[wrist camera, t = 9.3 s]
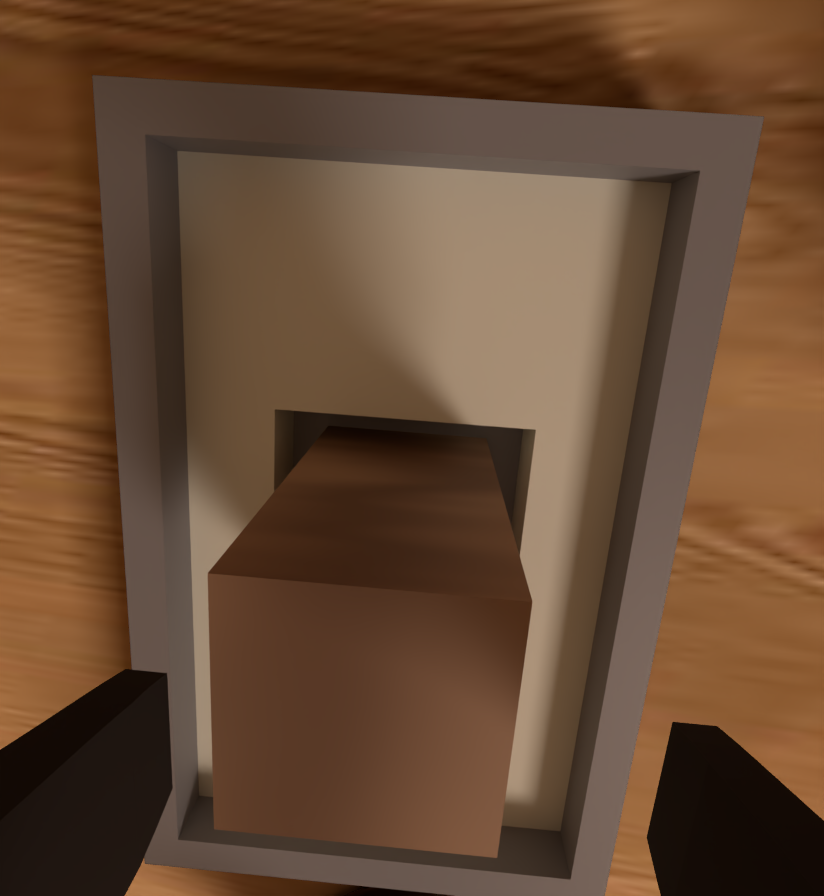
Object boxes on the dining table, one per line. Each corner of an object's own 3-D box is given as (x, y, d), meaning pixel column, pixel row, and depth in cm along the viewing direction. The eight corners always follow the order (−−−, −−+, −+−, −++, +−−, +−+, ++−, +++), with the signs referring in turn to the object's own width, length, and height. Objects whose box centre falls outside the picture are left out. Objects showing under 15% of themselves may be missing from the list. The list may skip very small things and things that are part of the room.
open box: (682, 160, 15) (763, 116, 11) (571, 792, 20) (601, 910, 17) (179, 127, 15) (92, 74, 12) (199, 756, 21) (144, 863, 17)
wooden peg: (486, 438, 17) (532, 601, 8) (471, 581, 18) (496, 857, 9) (328, 425, 17) (207, 573, 8) (323, 568, 18) (213, 829, 9)
